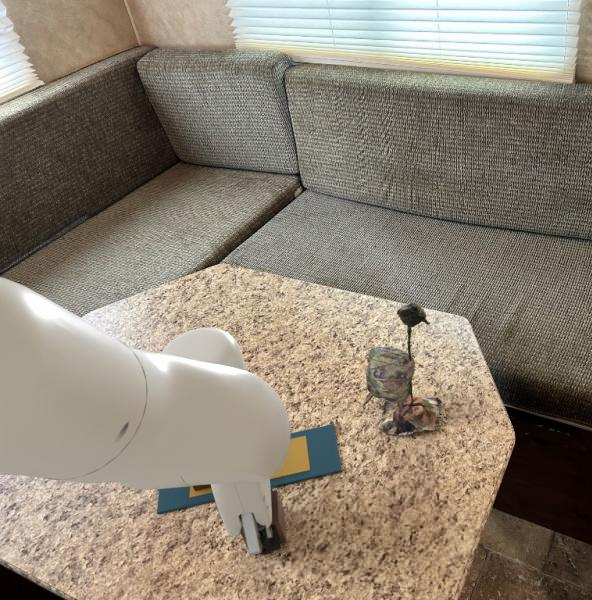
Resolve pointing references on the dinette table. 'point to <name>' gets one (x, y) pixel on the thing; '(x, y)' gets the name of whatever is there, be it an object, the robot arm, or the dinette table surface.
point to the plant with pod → (400, 383)
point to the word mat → (297, 467)
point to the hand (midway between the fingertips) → (266, 529)
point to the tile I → (274, 519)
